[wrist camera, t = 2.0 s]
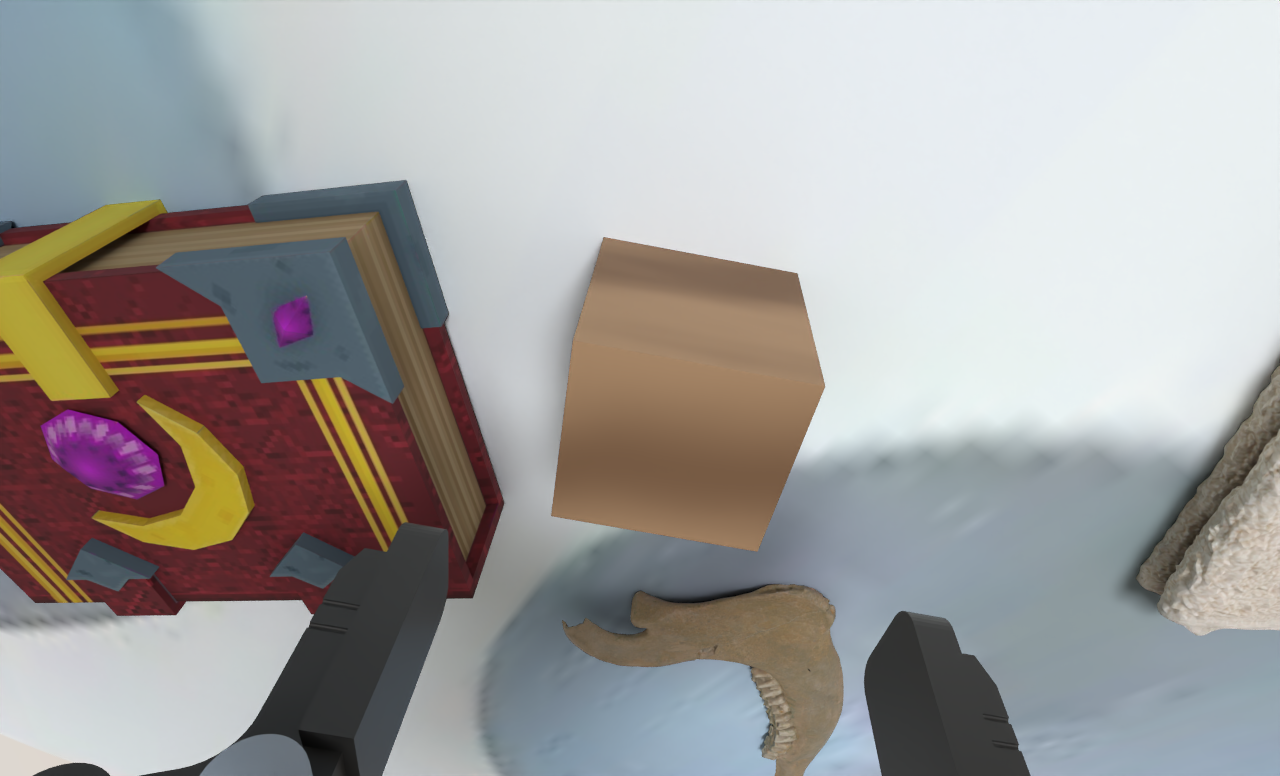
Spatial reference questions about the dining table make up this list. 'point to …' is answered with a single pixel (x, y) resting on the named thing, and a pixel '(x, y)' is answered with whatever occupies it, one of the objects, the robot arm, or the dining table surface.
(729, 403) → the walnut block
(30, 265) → the decorative book
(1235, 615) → the washcloth
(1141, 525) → the dining table surface
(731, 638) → the jawbone
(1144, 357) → the dining table surface
